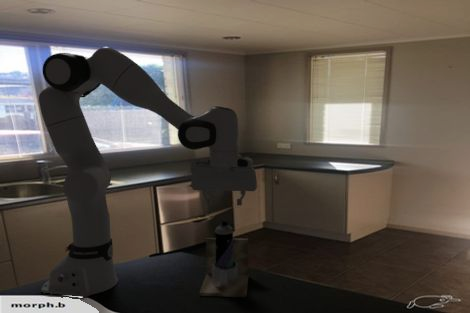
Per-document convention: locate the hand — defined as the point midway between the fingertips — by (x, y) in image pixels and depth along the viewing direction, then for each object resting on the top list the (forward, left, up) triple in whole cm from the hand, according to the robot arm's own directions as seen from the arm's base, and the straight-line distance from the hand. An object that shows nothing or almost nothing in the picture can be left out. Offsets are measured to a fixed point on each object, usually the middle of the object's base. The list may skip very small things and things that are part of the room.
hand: (224, 204), depth 109 cm
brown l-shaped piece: (0, 0, -26) cm, 26 cm away
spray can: (0, 0, -25) cm, 25 cm away
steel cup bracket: (0, +1, -25) cm, 25 cm away
